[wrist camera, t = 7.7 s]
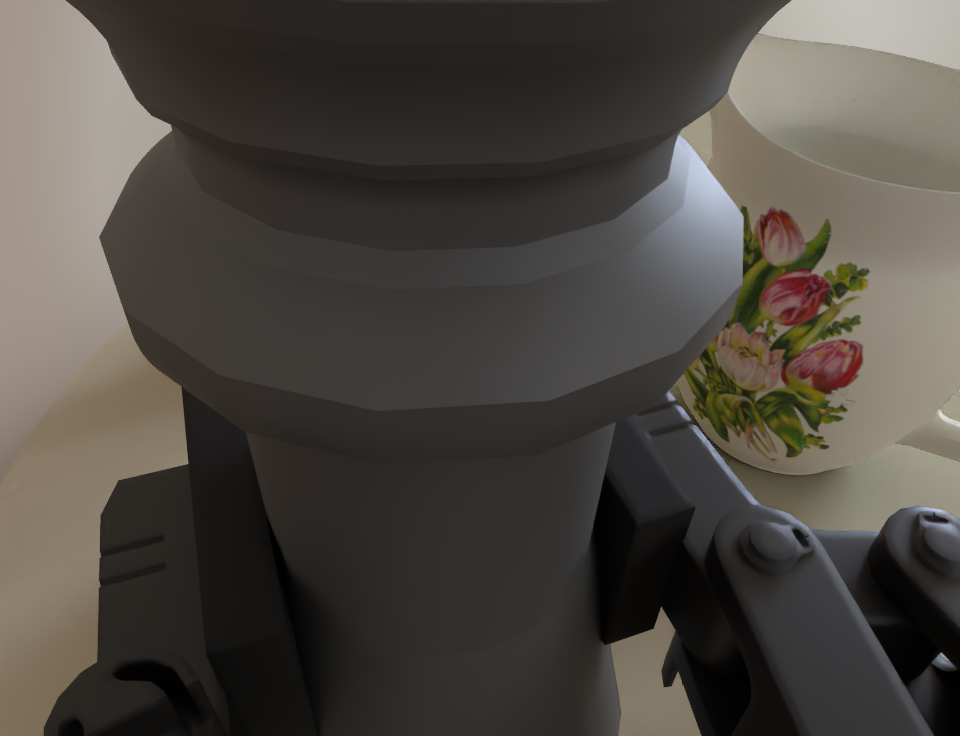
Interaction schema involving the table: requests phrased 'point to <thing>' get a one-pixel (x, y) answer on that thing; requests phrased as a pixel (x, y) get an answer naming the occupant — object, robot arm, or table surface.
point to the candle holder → (431, 311)
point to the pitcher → (836, 258)
